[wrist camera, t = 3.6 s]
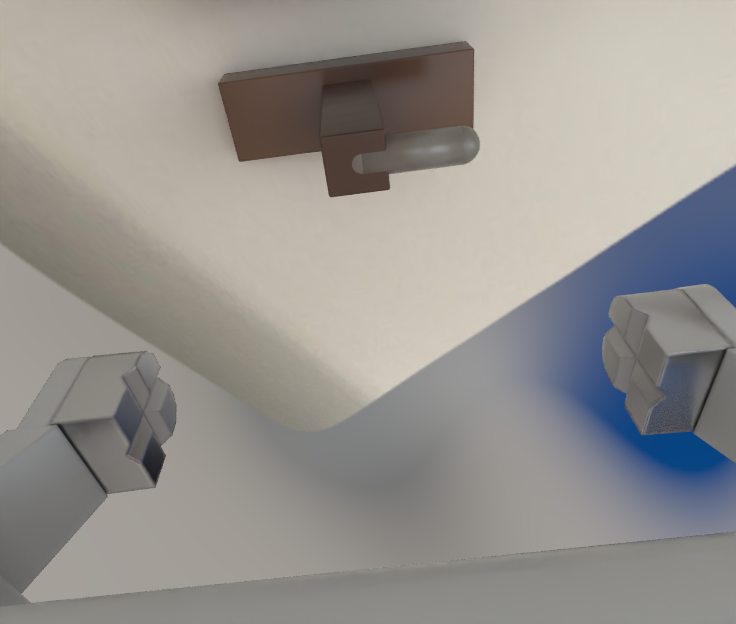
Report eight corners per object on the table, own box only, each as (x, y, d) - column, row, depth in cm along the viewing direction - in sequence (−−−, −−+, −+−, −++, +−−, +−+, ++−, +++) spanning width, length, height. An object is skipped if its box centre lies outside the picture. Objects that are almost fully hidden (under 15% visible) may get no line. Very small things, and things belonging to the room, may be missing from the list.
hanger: (243, 149, 24) (213, 231, 18) (223, 73, 22) (181, 136, 16) (466, 120, 23) (513, 192, 17) (466, 40, 21) (519, 91, 15)
